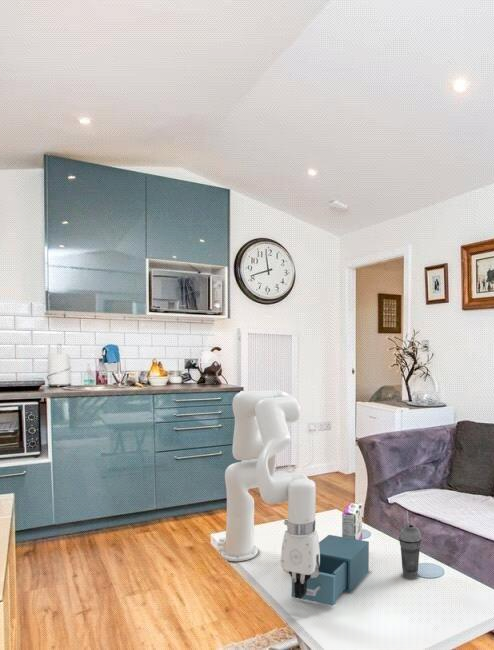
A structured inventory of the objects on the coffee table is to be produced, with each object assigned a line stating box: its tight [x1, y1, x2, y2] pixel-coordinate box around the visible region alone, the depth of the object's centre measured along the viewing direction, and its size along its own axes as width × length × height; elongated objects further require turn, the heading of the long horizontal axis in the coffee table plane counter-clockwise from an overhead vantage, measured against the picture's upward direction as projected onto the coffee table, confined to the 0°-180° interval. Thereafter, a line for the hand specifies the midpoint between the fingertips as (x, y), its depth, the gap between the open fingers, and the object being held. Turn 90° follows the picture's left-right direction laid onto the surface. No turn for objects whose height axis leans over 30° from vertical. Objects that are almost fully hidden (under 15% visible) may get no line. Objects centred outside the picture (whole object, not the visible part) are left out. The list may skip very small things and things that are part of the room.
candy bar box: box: [341, 502, 363, 540], centre depth 171 cm, size 11×5×16 cm, turn 169°
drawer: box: [291, 556, 348, 607], centre depth 143 cm, size 18×13×8 cm
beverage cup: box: [398, 510, 422, 580], centre depth 157 cm, size 7×7×20 cm
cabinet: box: [319, 534, 370, 594], centre depth 155 cm, size 15×15×10 cm
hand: (300, 596), depth 132 cm, fingers closed
